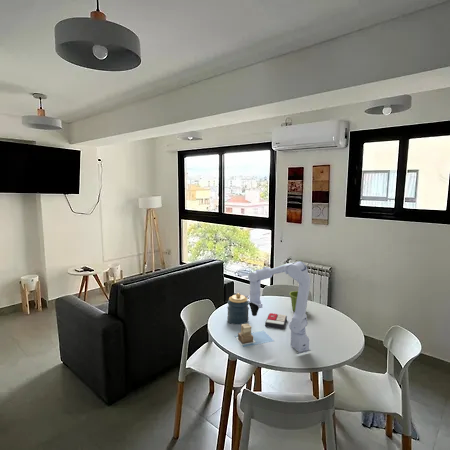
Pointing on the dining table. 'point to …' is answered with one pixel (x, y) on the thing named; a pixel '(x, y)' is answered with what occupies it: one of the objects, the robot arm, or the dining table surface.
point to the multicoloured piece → (276, 321)
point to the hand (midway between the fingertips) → (254, 315)
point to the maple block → (246, 330)
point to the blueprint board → (257, 339)
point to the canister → (238, 309)
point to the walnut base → (245, 338)
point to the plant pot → (293, 299)
